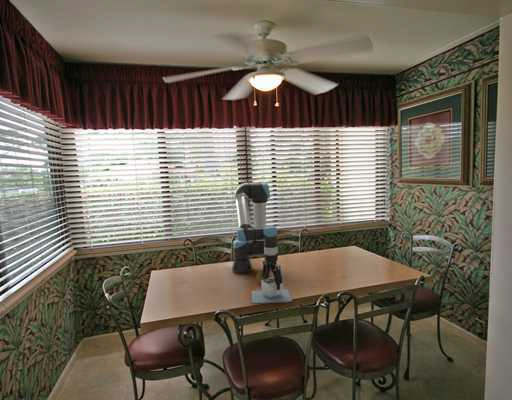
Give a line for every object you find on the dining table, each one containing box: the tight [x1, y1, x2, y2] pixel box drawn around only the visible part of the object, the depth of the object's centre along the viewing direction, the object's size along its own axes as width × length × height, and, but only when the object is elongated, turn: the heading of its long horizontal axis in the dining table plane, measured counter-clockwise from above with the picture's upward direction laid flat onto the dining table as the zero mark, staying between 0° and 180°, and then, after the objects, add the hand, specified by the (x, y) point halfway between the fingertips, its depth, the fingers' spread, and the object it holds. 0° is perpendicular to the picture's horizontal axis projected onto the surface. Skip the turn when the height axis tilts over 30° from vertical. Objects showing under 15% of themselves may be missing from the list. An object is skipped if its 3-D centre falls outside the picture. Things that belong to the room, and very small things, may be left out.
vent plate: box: [251, 282, 293, 305], centre depth 169 cm, size 16×22×8 cm
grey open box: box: [260, 276, 284, 297], centre depth 169 cm, size 9×9×7 cm
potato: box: [256, 269, 271, 285], centre depth 188 cm, size 8×13×8 cm, turn 10°
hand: (272, 291), depth 169 cm, fingers closed on grey open box, 9 cm apart
